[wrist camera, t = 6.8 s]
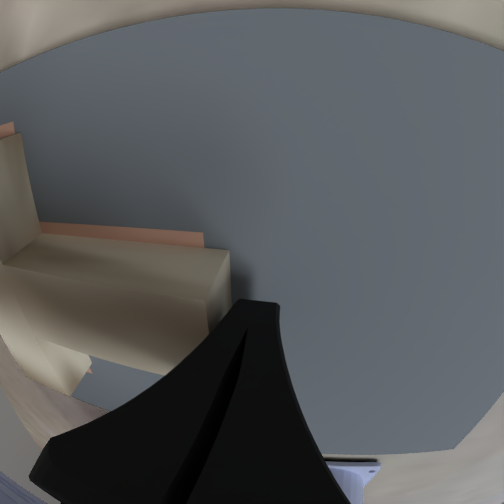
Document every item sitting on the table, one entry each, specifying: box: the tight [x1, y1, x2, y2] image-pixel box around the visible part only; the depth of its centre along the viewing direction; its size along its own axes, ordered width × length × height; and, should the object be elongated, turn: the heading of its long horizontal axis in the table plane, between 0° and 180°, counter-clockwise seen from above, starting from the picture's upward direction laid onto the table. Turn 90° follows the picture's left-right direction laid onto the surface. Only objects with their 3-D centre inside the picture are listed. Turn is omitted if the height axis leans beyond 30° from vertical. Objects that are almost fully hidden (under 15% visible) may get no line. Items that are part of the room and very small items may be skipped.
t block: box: [0, 132, 232, 396], centre depth 11 cm, size 12×12×2 cm
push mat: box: [0, 8, 504, 455], centre depth 12 cm, size 20×29×1 cm
